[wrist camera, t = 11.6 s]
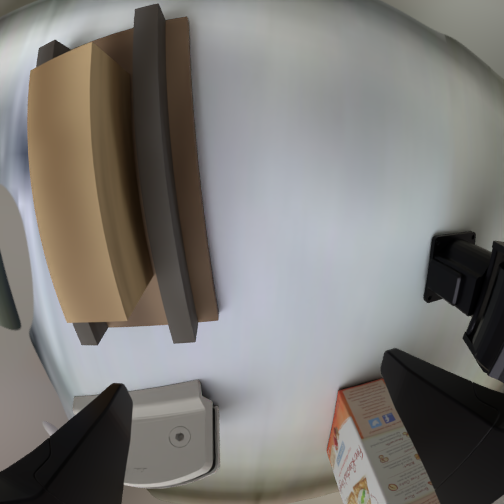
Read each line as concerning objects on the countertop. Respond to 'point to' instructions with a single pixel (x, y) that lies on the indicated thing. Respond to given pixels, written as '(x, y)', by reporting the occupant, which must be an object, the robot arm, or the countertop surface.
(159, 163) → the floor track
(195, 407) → the grey upright panel
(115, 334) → the countertop surface
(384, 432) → the cracker box
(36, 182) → the wooden block
